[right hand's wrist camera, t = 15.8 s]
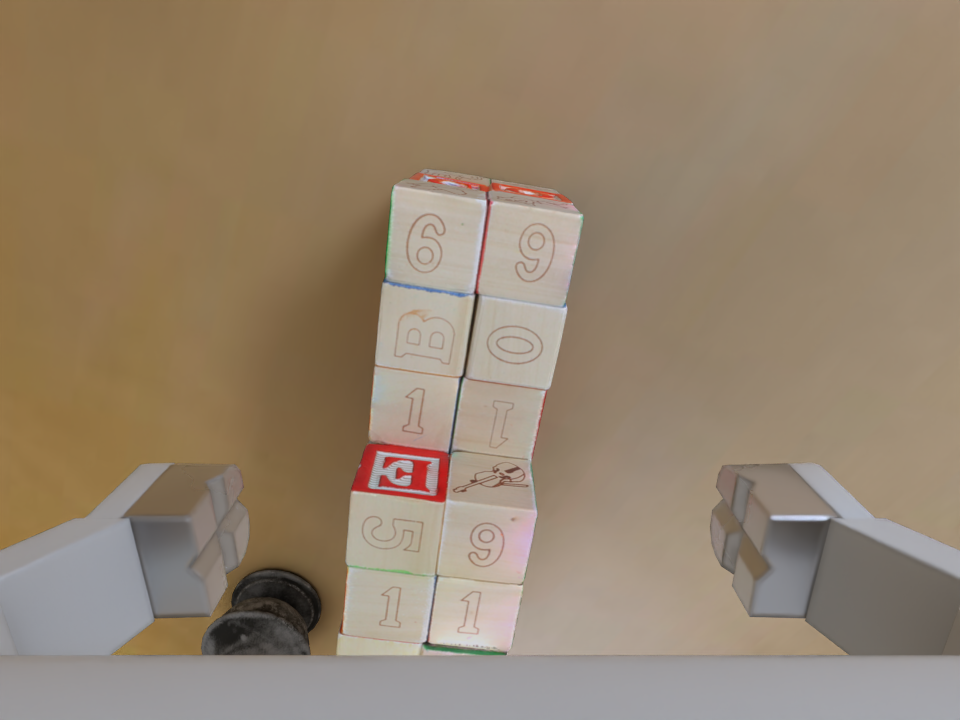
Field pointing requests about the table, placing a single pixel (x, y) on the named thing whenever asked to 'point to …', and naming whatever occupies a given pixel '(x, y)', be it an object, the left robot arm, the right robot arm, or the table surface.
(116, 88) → the table surface
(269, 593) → the grey chess piece
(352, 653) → the stack of blocks
